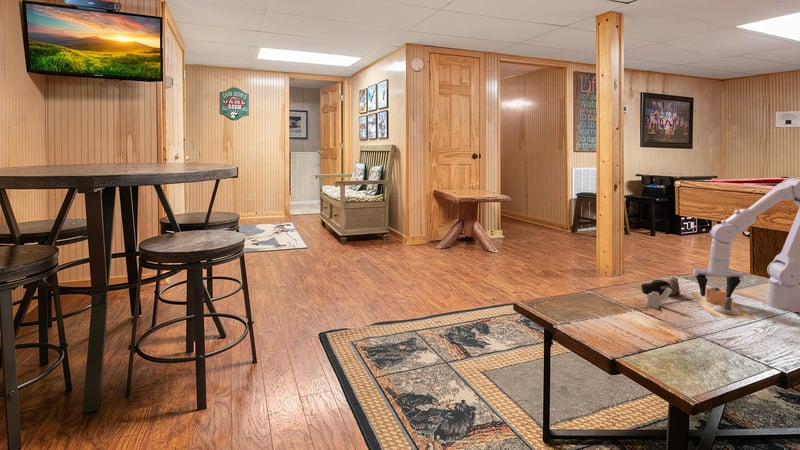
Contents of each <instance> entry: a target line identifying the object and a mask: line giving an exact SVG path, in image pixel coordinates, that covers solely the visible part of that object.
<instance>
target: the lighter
mask: <svg viewBox="0 0 800 450" xmlns="http://www.w3.org/2000/svg"><path fill="white" fill-rule="evenodd" d="M671 291H672V289H670V288H666V289H665V290H664V292H661V294H660V292H649V293H648V294H647V307H649V308H653V309H656V310H661V306H662V304H663V301H665V300H667V299H668V297H670V296H669V294H670V293H671Z"/></svg>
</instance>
